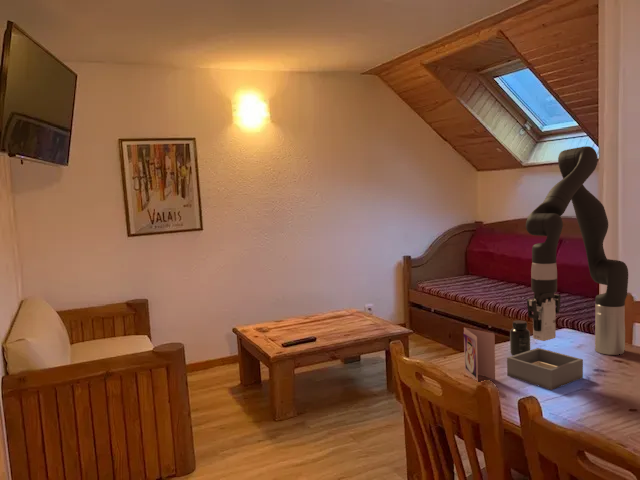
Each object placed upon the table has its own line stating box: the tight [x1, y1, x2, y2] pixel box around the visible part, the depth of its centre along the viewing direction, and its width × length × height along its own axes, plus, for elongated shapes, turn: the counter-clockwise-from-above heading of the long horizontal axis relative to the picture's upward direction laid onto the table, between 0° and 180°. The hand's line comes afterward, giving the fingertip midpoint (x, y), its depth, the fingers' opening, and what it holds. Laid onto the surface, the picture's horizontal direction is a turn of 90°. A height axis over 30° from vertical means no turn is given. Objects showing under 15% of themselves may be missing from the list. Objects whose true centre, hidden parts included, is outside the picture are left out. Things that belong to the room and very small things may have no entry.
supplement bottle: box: [509, 319, 531, 356], centre depth 194 cm, size 7×7×12 cm
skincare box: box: [532, 301, 557, 342], centre depth 170 cm, size 6×4×12 cm
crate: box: [506, 347, 584, 391], centre depth 172 cm, size 16×16×6 cm
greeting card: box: [462, 327, 496, 382], centre depth 174 cm, size 11×7×15 cm, turn 5°
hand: (544, 328), depth 171 cm, fingers closed on skincare box, 6 cm apart
